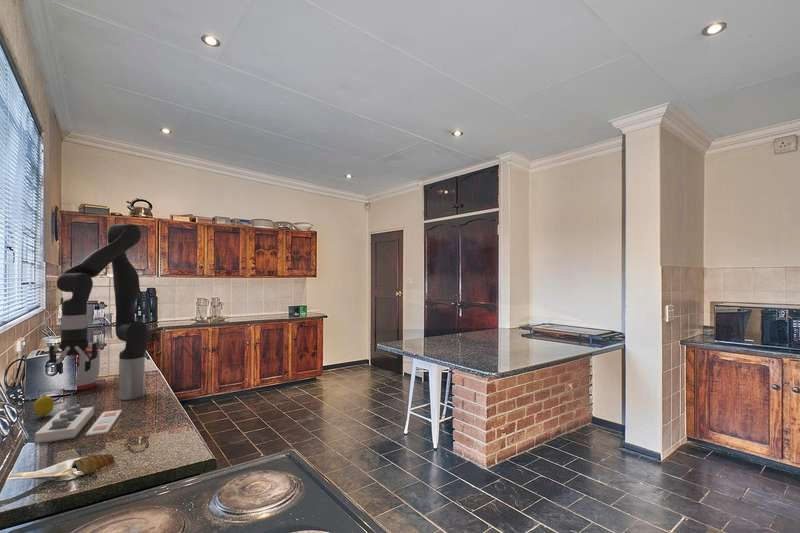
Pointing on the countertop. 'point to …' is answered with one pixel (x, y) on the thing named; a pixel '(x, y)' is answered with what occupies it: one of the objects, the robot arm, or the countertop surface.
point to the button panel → (64, 433)
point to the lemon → (43, 405)
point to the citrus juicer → (90, 376)
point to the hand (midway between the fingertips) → (73, 372)
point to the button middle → (68, 415)
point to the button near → (60, 423)
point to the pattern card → (104, 423)
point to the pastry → (92, 463)
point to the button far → (74, 409)
